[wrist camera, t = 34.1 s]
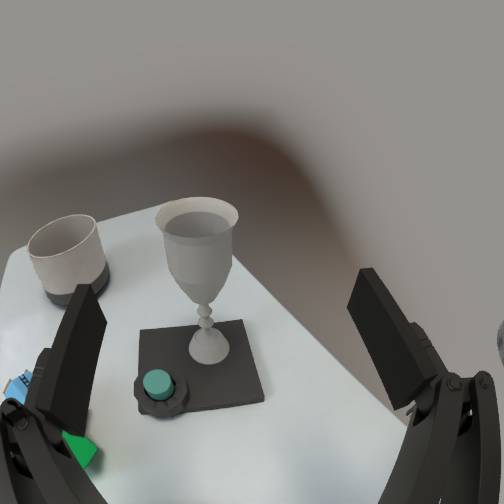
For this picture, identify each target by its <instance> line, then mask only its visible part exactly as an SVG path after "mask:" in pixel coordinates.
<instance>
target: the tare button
mask: <svg viewBox="0 0 504 504" xmlns="http://www.w3.org/2000/svg"><path fill="white" fill-rule="evenodd" d="M143 385H144V387H145V389H146V391H147V392H148V394H149V396H150V397H151V398H153V399H155V400H166V399H168V398H169V397H170V396H171V395H172V394H173V391H174V386H173V383H172V380H171V378H170V376H169V374H168V373H167V372H165V371H163V370H158V369H156V370H152V371H150V372H148V373H147V374H146V375H145V377H144V379H143Z"/></svg>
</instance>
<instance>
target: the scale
mask: <svg viewBox="0 0 504 504" xmlns="http://www.w3.org/2000/svg"><path fill="white" fill-rule="evenodd" d="M201 328H202V327H200V326H199V325H190V326H180V327H169V328H158V329H144V330H140V339H139V363H138V377H137V378H136V380H135V382H134V396H135V397H136V399H137V400H138V411H139V412H140V413H141V414H151V415H153V416H156V417H158V418H161V417H173V416H174V415H176V414H178V413H182V412H193V411H203V410H212V409H219V408H227V407H233V406H240V405H246V404H251V403H257V402H262V401H264V394H263V390H262V387H261V383H260V380H259V377H258V373H257V370H256V366H255V363H254V359H253V356H252V352H251V349H250V345H249V342H248V338H247V335H246V331H245V327H244V324H243V320H242V319H240V320H233V321H225V322H217V323H214V324H213V326H212V327H211V328H215V329H217V330H219V331H220V332H221V333H222V335H223V336H224V337H225V338H226V340H227V341H228V343H229V352H228V355H227V356H226V357H225V358H224V360H222V361H220V362H219V363H215V364H203V363H199V362H197V361H196V360H194V359H193V357H192V356H191V355H190V352H189V344H190V342H191V340H192V338H193V336H194V334H195V333H196V332H197V331H198V330H199V329H201ZM156 369H158V370H163V371H165V372H167V373H168V374H169V376H170V378H171V380H172V383H173V386H174V391H173V394H172V395H171V396H170V397H169V398H168V399H166V400H155V399H153V398H151V397H150V396H149V394H148V392H147V391H146V389H145V387H144V385H143V379H144V377H145V375H146V374H147V373H148V372H150V371H152V370H156Z"/></svg>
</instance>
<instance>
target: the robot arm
mask: <svg viewBox="0 0 504 504" xmlns="http://www.w3.org/2000/svg"><path fill="white" fill-rule="evenodd" d="M347 309H348V311H349V313H350V315H351V317H352V319H353V321H354V323H355V324H356V327H357V329H358V331H359V333H360V335H361V337H362V339H363V341H364V343H365V346H366V348H367V350H368V352H369V354H370V356H371V358H372V361H373V363H374V365H375V367H376V369H377V371H378V374H379V376H380V378H381V380H382V383H383V385H384V387H385V390H386V392H387V394H388V396H389V399H390V401H391V404H392V406H393V408H394V410H397V409H400V408H402V407H405V406H407V405H409V404H410V403H411V402H412V401H413V400H415V402H416V404H415V405H414V406H413V407H412V408H411V409H410V410H408V411H407V413H406V415H407V416H408V415H409V414H410V413H411V412H412V415H411V418H410V421H409V425H408V428H407V431H406V435H405V438H404V441H403V444H402V447H401V449H400V452H399V455H398V458H397V460H396V463H395V466H394V468H393V471H392V473H391V476H390V478H389V480H388V483H387V485H386V487H385V489H384V492H383V494H382V496H381V498H380V500H379V502H378V504H439V501H440V498H441V503H440V504H498V502H499V493H500V478H501V439H500V424H499V414H498V406H497V398H496V392H495V386H494V381H493V378H492V377H491V375H490V374H489V373H488V372H486V371H479V372H478V373H477V374H476V375H475V376H474V377H472V378H460V376H459V375H457V374H455V373H451V372H448V370H447V369H446V367H445V365H444V363H443V362H442V360H441V358H440V356H439V355H438V353H437V352H436V350H435V348H434V346H432V343H431V341H430V340H429V339H428V336H427V335H426V333H425V332H424V330H423V329H422V328H421V327H420V326H419V325H418V324H417V323H415V322H413V323H409V322H408V320H407V319H406V317H405V315H404V314H403V312H402V311H401V309H400V308H399V306H398V305H397V303H396V302H395V300H394V298H393V297H392V295H391V294H390V292H389V291H388V289H387V288H386V286H385V285H384V283H383V282H382V280H381V279H380V278H379V276H378V275H377V273H376V272H375V270H374V269H373V268H363V269H360V270H359V274H358V277H357V280H356V283H355V286H354V288H353V291H352V294H351V297H350V300H349V303H348V305H347ZM106 325H107V321H106V319H105V316H104V314H103V312H102V310H101V308H100V305H99V303H98V301H97V298H96V296H95V294H94V291H93V289H92V286H91V284H77V286H76V288H75V290H74V293H73V295H72V297H71V299H70V302H69V304H68V306H67V309H66V311H65V314H64V316H63V318H62V321H61V323H60V326H59V329H58V331H57V334H56V337H55V339H54V342H53V345H52V348H44V350H43V351H42V352H41V354H40V355H39V356H38V359H37V362H36V365H35V368H34V371H33V374H32V375H33V376H32V377H31V381H30V384H29V388H28V391H27V395H26V398H25V402H24V405H23V404H22V403H20V402H19V401H18V400H17V399H15V398H12V397H10V398H7V399H5V400H4V401H3V402H2V404H1V406H0V504H108V503H107V502H106V501H105V499H104V498H103V497H102V495H101V494H100V493H99V491H98V490H97V489H96V487H95V486H94V484H93V483H92V482H91V480H90V479H89V477H88V476H87V474H86V473H85V471H84V470H83V468H82V467H81V465H80V463H79V462H78V460H77V458H76V457H75V455H74V453H73V452H72V450H71V448H70V447H69V445H68V443H67V441H66V439H65V438H64V437H63V435H62V434H63V430H64V431H65V432H66V433H68V434H69V435H73V436H78V437H82V438H84V436H85V428H86V420H87V414H88V407H89V401H90V396H91V390H92V385H93V380H94V375H95V370H96V366H97V361H98V357H99V353H100V348H101V344H102V340H103V337H104V333H105V329H106ZM471 409H472V415H470V410H471ZM441 495H442V496H441Z"/></svg>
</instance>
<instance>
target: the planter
mask: <svg viewBox="0 0 504 504" xmlns="http://www.w3.org/2000/svg"><path fill="white" fill-rule="evenodd" d="M27 252H28V255H29V257H30V260H31V262H32V264H33V267H34V269H35V271H36V273H37V275H38V278H39V280H40V282H41V284H42V286H43V288H44V290H45V292H46V294H47V296H48V298H49V299H50V300H51V301H52V302H54V303H56V304H60V305H68V304H69V302H70V299H71V297H72V295H73V293H74V290H75V288H76V286H77V284H91V286H92V289H93V291H94V294H96V293H97V292H98V291H99V290H100V289H101V288H102V287H103V286H104V284H105V283H106V281H107V279H108V276H109V268H108V264H107V261H106V258H105V255H104V251H103V248H102V244H101V241H100V237H99V233H98V229H97V226H96V222H95V220H94V219H93V218H92V217H90V216H88V215H71V216H66V217H63V218H60V219H57V220H55V221H53V222H51V223H49V224H47V225H45V226H44V227H42V228H41V229H40V230H38V231H37V232H36V233H35V234H34V235H33V236H32V237H31V239H30V241H29V242H28V245H27Z"/></svg>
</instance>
